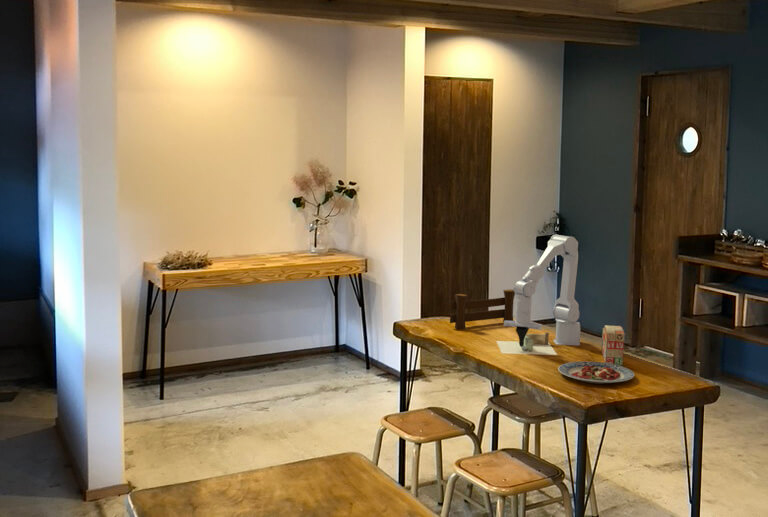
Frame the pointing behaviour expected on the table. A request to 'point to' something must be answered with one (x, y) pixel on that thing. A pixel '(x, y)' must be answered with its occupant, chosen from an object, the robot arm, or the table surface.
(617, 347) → the stack of blocks
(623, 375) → the ceramic plate
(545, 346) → the card
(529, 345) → the pale green bar
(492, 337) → the table surface
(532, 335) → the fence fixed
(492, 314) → the decorative fence
